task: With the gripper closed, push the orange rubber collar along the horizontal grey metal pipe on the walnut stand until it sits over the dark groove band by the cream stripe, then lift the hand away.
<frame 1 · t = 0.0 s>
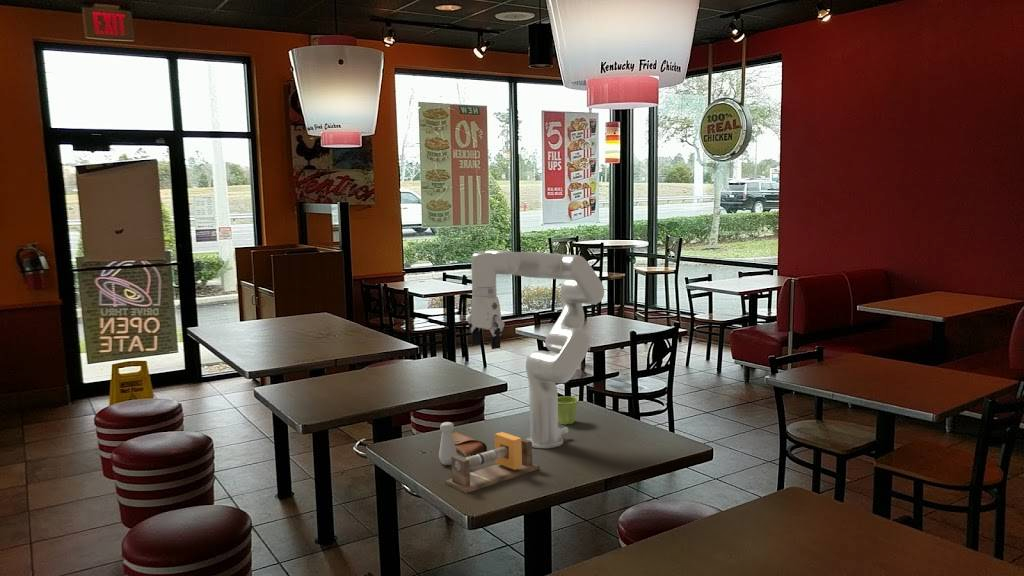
hand: (486, 346, 233), 37 cm above the table, tool pointing down, fingers open, 9 cm apart
salt shaker: (448, 463, 236), on the table
pipe stand: (493, 476, 223), on the table
sunglasses case: (461, 449, 250), on the table
collar: (508, 450, 226), point 7 cm above the table, slide at 0.0 cm
plant pot: (566, 423, 276), on the table
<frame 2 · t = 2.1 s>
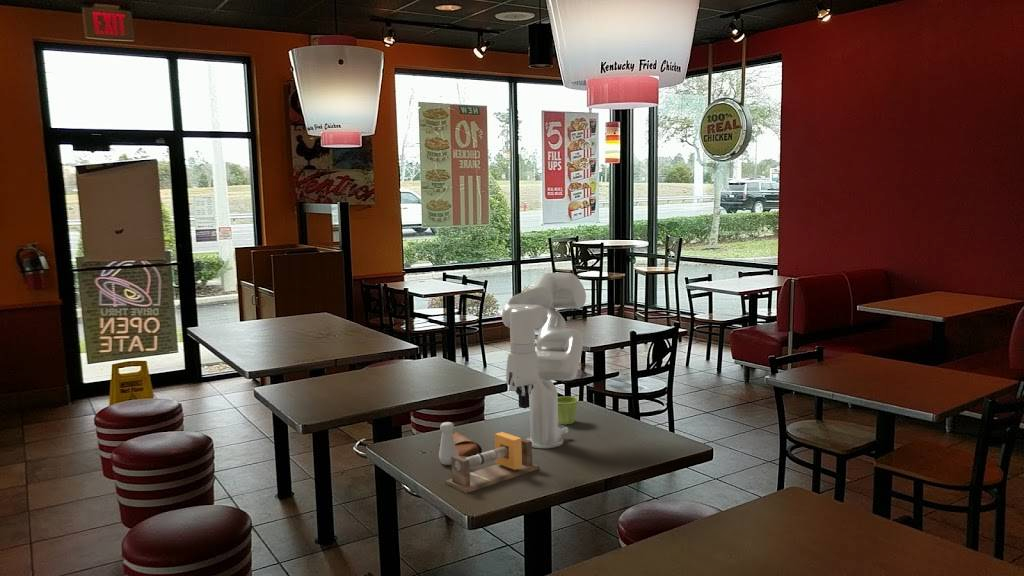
hand: (524, 407, 229), 19 cm above the table, tool pointing down, fingers closed
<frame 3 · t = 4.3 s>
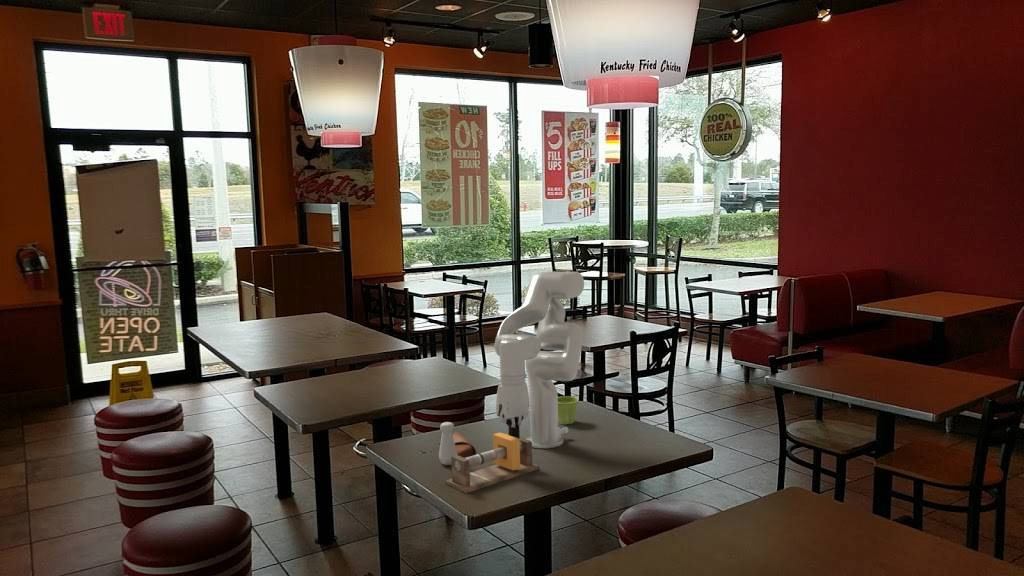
hand: (514, 438, 227), 10 cm above the table, tool pointing down, fingers closed
collar: (506, 451, 226), point 6 cm above the table, slide at 0.7 cm, touching gripper
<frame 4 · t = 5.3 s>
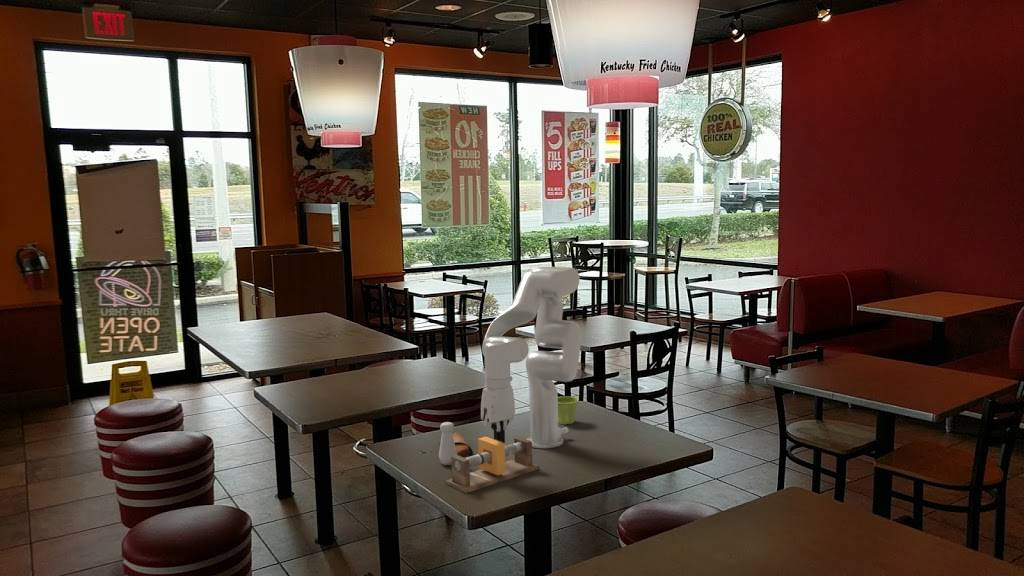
hand: (499, 442, 224), 10 cm above the table, tool pointing down, fingers closed
collar: (491, 455, 222), point 7 cm above the table, slide at 6.5 cm, touching gripper
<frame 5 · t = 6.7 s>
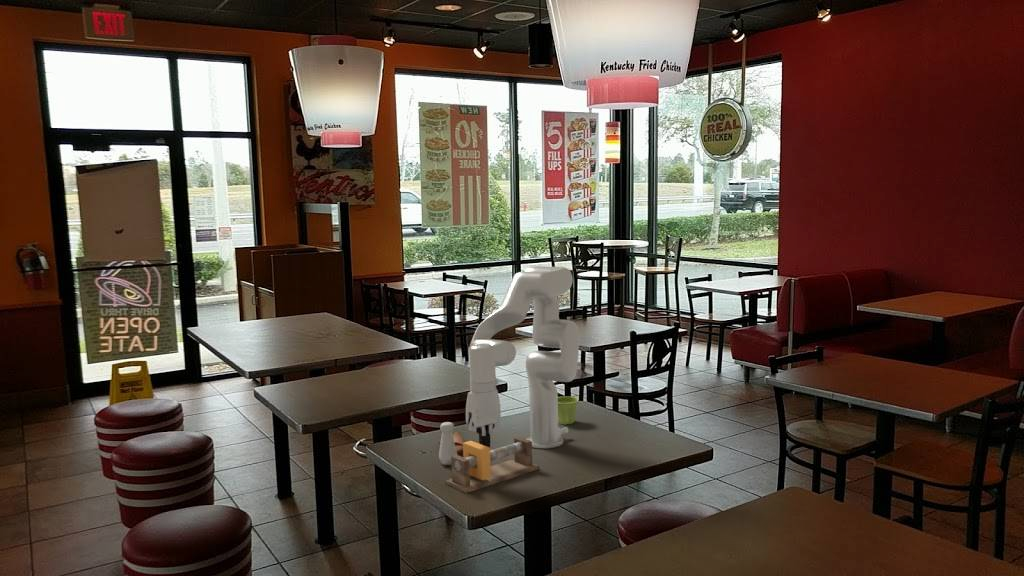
hand: (484, 447, 220), 10 cm above the table, tool pointing down, fingers closed
collar: (476, 460, 218), point 6 cm above the table, slide at 12.1 cm, touching gripper
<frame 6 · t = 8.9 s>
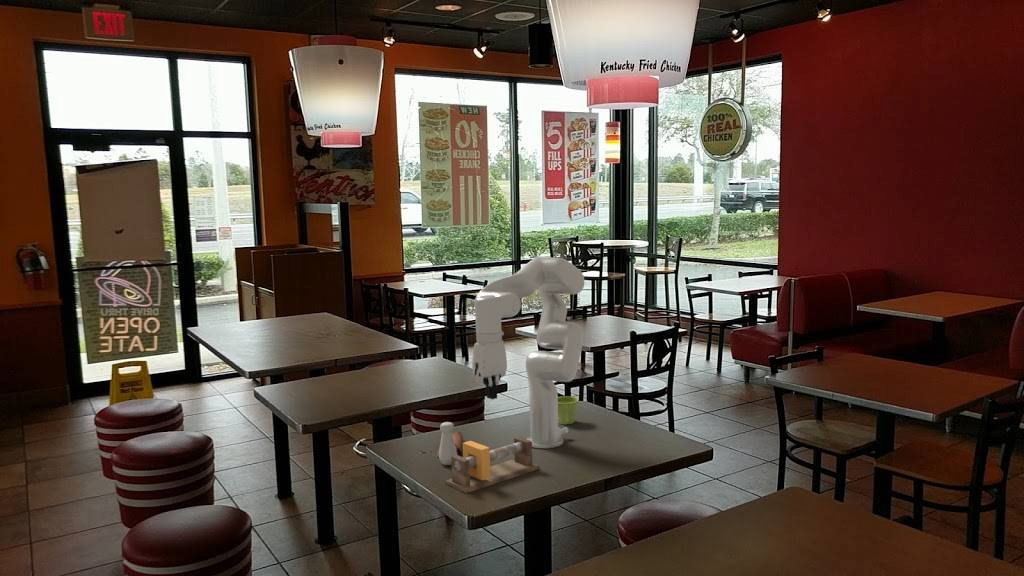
hand: (491, 397, 222), 23 cm above the table, tool pointing down, fingers closed
collar: (476, 460, 218), point 6 cm above the table, slide at 12.2 cm
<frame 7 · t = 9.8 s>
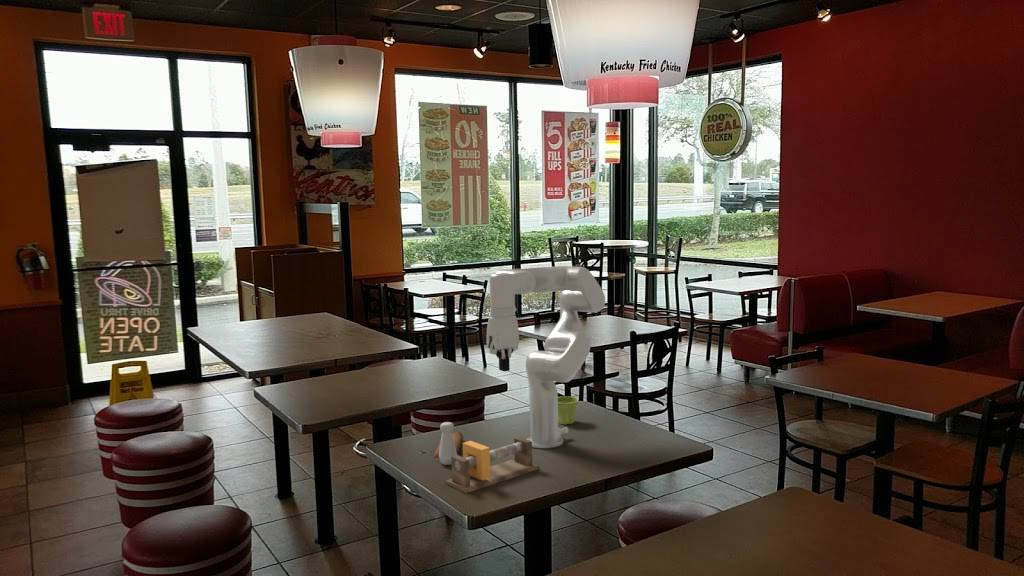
hand: (504, 370, 234), 29 cm above the table, tool pointing down, fingers closed
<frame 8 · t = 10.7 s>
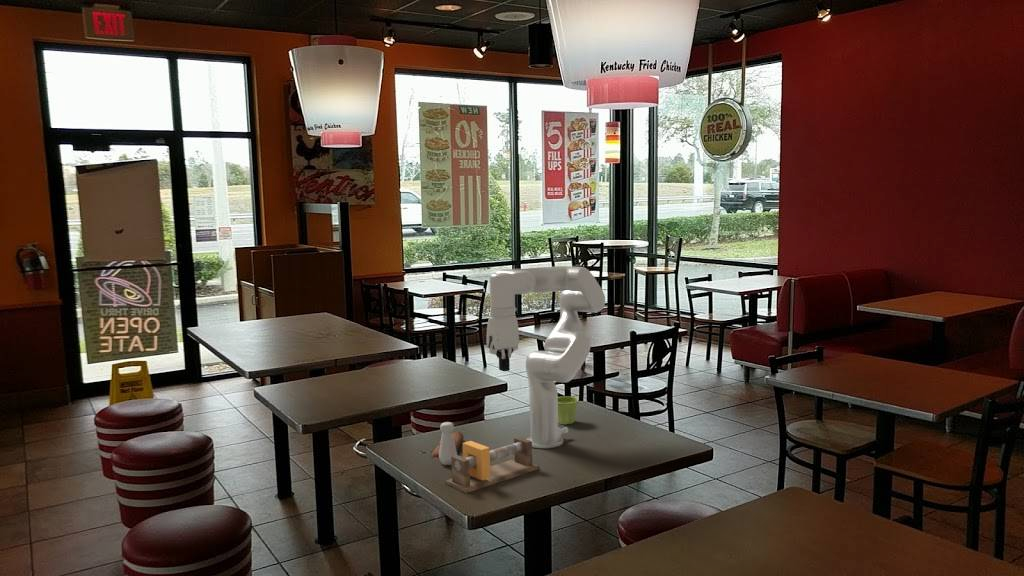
hand: (504, 370, 234), 29 cm above the table, tool pointing down, fingers closed
at the end: collar slide at 12.2 cm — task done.
